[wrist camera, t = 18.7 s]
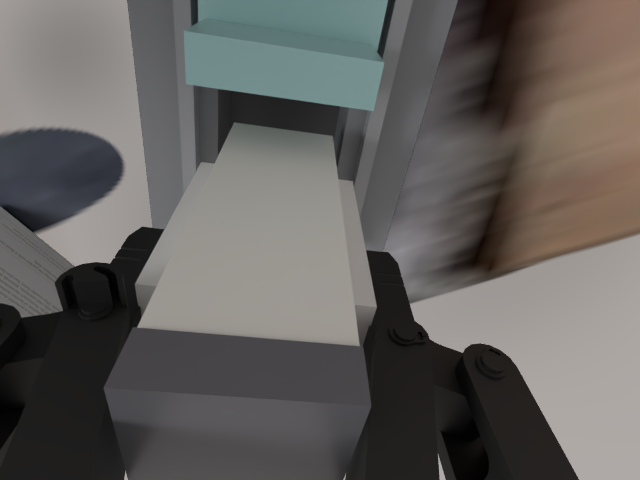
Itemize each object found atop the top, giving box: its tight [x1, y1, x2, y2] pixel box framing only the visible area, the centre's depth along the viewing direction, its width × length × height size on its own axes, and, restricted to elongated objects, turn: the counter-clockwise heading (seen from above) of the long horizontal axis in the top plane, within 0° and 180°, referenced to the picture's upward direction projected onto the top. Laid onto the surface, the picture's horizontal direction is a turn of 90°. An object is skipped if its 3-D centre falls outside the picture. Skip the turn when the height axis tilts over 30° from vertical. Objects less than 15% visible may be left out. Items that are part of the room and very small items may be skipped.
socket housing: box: [127, 0, 458, 252], centre depth 17 cm, size 12×20×5 cm, turn 172°
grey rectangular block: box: [104, 122, 371, 480], centre depth 12 cm, size 4×4×12 cm
